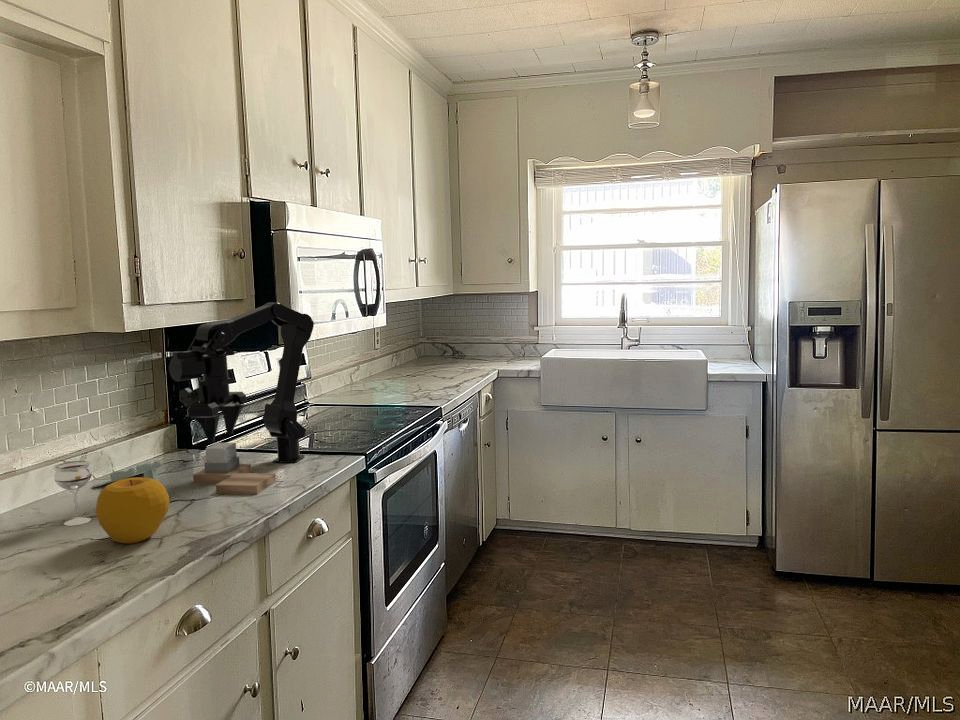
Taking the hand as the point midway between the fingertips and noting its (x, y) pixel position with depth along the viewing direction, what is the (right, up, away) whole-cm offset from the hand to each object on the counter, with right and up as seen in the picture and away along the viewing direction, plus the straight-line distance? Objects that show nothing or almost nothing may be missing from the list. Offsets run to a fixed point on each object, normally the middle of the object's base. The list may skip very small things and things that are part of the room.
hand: (220, 438), depth 183 cm
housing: (0, -8, +1) cm, 8 cm away
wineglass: (-19, -14, -29) cm, 38 cm away
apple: (-2, -15, -40) cm, 43 cm away
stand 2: (+9, -11, -8) cm, 16 cm away
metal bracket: (-21, -11, 0) cm, 23 cm away
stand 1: (0, -10, +1) cm, 10 cm away
